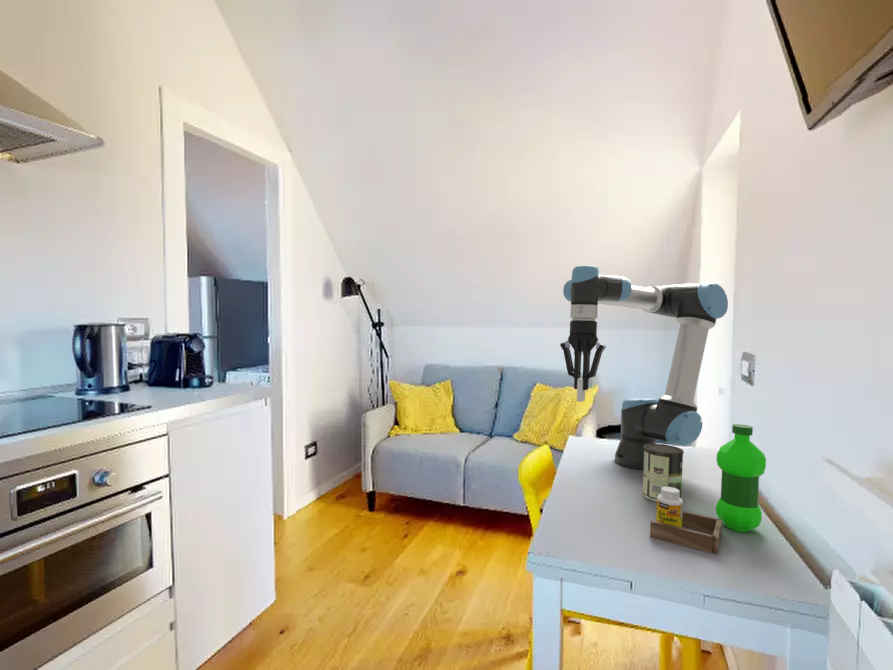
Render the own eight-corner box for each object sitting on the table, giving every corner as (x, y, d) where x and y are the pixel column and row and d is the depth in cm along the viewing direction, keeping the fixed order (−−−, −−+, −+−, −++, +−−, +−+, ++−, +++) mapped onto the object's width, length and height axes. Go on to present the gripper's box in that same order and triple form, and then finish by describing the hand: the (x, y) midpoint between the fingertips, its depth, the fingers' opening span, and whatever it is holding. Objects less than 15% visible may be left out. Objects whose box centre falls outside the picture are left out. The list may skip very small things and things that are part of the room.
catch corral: (659, 519, 119) (660, 505, 119) (721, 534, 111) (722, 519, 111) (649, 536, 109) (650, 521, 109) (717, 554, 101) (717, 538, 101)
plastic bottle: (744, 518, 120) (749, 421, 120) (773, 537, 110) (778, 431, 109) (705, 517, 120) (709, 420, 120) (730, 536, 110) (735, 430, 109)
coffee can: (675, 492, 138) (677, 444, 138) (686, 505, 128) (688, 454, 128) (638, 489, 140) (640, 442, 140) (646, 502, 130) (648, 451, 130)
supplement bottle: (653, 532, 111) (654, 489, 111) (658, 524, 116) (660, 483, 115) (679, 539, 108) (681, 495, 107) (683, 531, 112) (685, 488, 112)
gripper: (557, 319, 137) (554, 399, 137) (602, 320, 129) (599, 405, 130) (566, 319, 143) (563, 396, 144) (610, 320, 135) (607, 401, 136)
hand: (580, 400), depth 137 cm, fingers closed
